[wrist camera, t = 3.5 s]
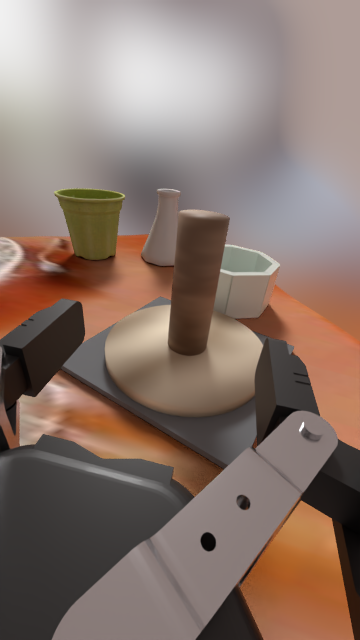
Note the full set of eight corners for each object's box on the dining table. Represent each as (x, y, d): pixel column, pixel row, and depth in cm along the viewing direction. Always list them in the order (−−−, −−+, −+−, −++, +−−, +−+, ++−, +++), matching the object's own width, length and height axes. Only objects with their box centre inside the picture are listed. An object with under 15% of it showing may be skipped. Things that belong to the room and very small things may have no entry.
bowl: (168, 298, 32) (171, 257, 29) (206, 274, 39) (211, 239, 37) (250, 329, 28) (262, 284, 25) (275, 295, 35) (286, 258, 33)
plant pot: (61, 265, 37) (51, 197, 33) (63, 244, 45) (55, 186, 40) (130, 264, 40) (130, 200, 36) (121, 244, 48) (120, 190, 43)
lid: (68, 362, 21) (43, 207, 15) (165, 300, 30) (172, 192, 25) (226, 455, 15) (284, 272, 10) (282, 345, 25) (326, 221, 19)
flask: (132, 255, 44) (132, 186, 38) (169, 249, 48) (173, 186, 43) (158, 270, 39) (163, 195, 34) (196, 263, 43) (205, 194, 38)
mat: (54, 365, 21) (53, 360, 21) (159, 300, 31) (160, 296, 31) (238, 477, 15) (240, 472, 15) (292, 350, 25) (294, 346, 25)
